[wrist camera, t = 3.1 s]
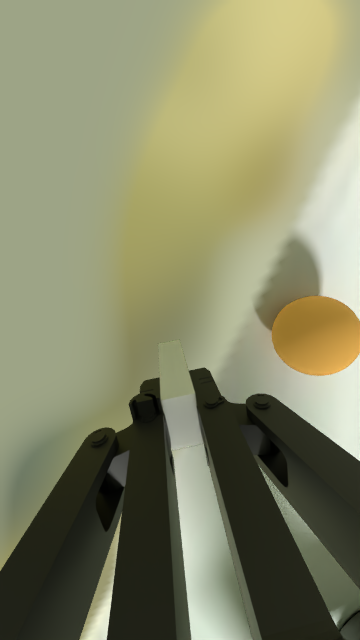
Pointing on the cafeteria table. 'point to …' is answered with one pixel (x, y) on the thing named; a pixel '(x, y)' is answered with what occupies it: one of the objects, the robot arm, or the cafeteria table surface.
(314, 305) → the ball
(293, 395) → the cafeteria table surface
